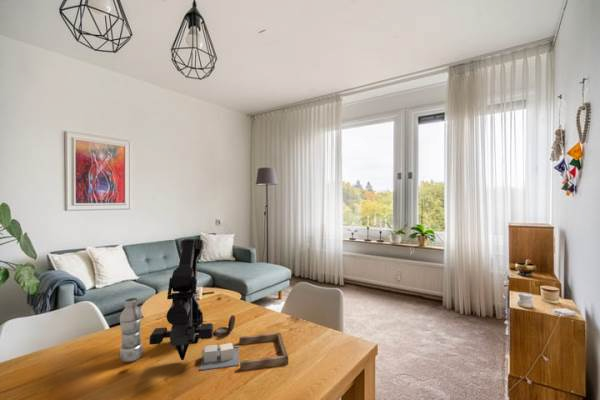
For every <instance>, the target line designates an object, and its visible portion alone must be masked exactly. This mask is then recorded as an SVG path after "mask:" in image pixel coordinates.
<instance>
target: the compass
mask: <svg viewBox="0 0 600 400" xmlns="http://www.w3.org/2000/svg"><path fill="white" fill-rule="evenodd" d="M235 323H236V316H235V315H232V314H231V315H230V318H229V320H228V324H227V326H228V327H225V326H220V327H218V328H216V329H215V330H213V335H214V336H215V337H218V338H220V337H224V336H227V335H230V333H231V332H232V331H233V329H234V326H235Z"/></svg>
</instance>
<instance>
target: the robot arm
mask: <svg viewBox="0 0 600 400" xmlns="http://www.w3.org/2000/svg"><path fill="white" fill-rule="evenodd" d="M203 250H204V240H203V239H201V237H200V238H198V237H197V238H196V237H195V238H184V239H182V240H180V241H179V251H181V253H180V258H179V263H178V267H177V268H175V269H174V270H173V272H172V276H171V277H170V278H169V280H168V289H167V296H166V300H172V303H171V305H170V307H169V308H168V310H167V313H166V320H167V323H169V324H170V325H171V329H170V330H168V328H167V327H166V326H165V327H156V328H154V329H153V330H152V332H151V334H150V336H149V339H148V340H149V345H150V346H151V345H160V344H161V343H162V342H163V340H164V339H168V338H169V342H168V343H169V345H170V346H171V347H175V348H176V350H177V353H178V355H179V358H180V360H181V361H182V360H183V361H184V360H185V357H186V354H187V351H188V348H189V346H190V345H193V344H194V345H195V344H196V345H197V344H198V343H199V340H209V339H212V338H213V335H214V324H213V323H212V322H210V323H204V316H203V312H202V309H201V308H200V304H199V302H198V301H197V298H196V295H197V294H196V293H197V287H198V286H197V285H198V279H197V276H198V274H197V273H198V272H197V271H198V260H199V259H200V257H202V256H201V255H202V252H203Z"/></svg>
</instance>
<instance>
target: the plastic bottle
mask: <svg viewBox="0 0 600 400" xmlns="http://www.w3.org/2000/svg"><path fill="white" fill-rule="evenodd" d="M123 306H124V307H125V308H124V309H123V310H122V312H121V314H120V316H119V324H120V329H121V345H120V350H119V357H120V361H122V362H124V363H130V362H133V361H136V360H138V359H139V358H140V357H141V356H142V355H143V349H144V347H143V343H142V337H141V336H142V335H141V325H142V318H143V313H142V312H143V311H142V310H141V308H140V307H138V298H137V297H131V298H127V299H125V301H124V305H123Z"/></svg>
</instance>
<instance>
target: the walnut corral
mask: <svg viewBox="0 0 600 400" xmlns="http://www.w3.org/2000/svg"><path fill="white" fill-rule="evenodd" d="M238 338H239V340H238V342H239V345H249V344H257V343H259V344H260V343H265V342H266V343H267V342H275V341H276V342H277V343H278V346H279V350H280V354H281V355H279V356H277V355H276V356H270V357H260V358H253V359H244V360H239V370H240V371H244V370H245V371H246V370H254V369H261V368H262V369H263V368H269V367H276V366H277V367H278V366H285V365H289V355H288V351H287V349H286V346H285V343H284V340H283V336H282V334H281V332H274V333H265V334H264V333H263V334H254V335H244V336H239V337H238ZM239 345H238V346H239Z"/></svg>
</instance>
